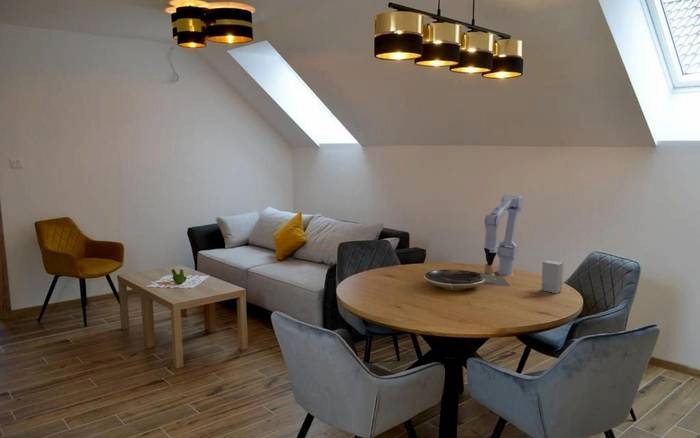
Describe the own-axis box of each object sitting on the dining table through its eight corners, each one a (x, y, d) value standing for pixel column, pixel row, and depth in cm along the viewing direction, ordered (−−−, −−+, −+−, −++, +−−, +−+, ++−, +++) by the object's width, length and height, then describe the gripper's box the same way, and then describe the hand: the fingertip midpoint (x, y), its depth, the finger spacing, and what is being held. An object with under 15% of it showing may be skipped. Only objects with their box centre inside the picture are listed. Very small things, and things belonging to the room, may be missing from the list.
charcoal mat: (466, 277, 287) (466, 276, 286) (504, 279, 285) (504, 278, 285) (470, 285, 271) (470, 284, 271) (510, 287, 269) (510, 286, 269)
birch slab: (479, 279, 282) (480, 275, 281) (493, 279, 281) (493, 276, 281) (482, 282, 275) (482, 278, 274) (495, 283, 274) (496, 279, 274)
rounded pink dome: (483, 272, 280) (484, 263, 279) (492, 272, 279) (493, 263, 278) (484, 274, 275) (485, 265, 275) (493, 275, 275) (494, 265, 274)
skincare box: (561, 292, 264) (564, 262, 262) (556, 294, 260) (558, 264, 258) (545, 288, 270) (548, 259, 268) (539, 290, 266) (542, 261, 264)
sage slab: (481, 275, 281) (481, 271, 280) (492, 276, 280) (493, 272, 280) (483, 278, 275) (483, 274, 274) (495, 279, 274) (495, 275, 274)
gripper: (500, 240, 267) (498, 267, 269) (497, 235, 281) (495, 260, 283) (486, 239, 268) (484, 266, 270) (483, 234, 282) (481, 259, 284)
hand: (489, 263), depth 276 cm, fingers open, 7 cm apart
